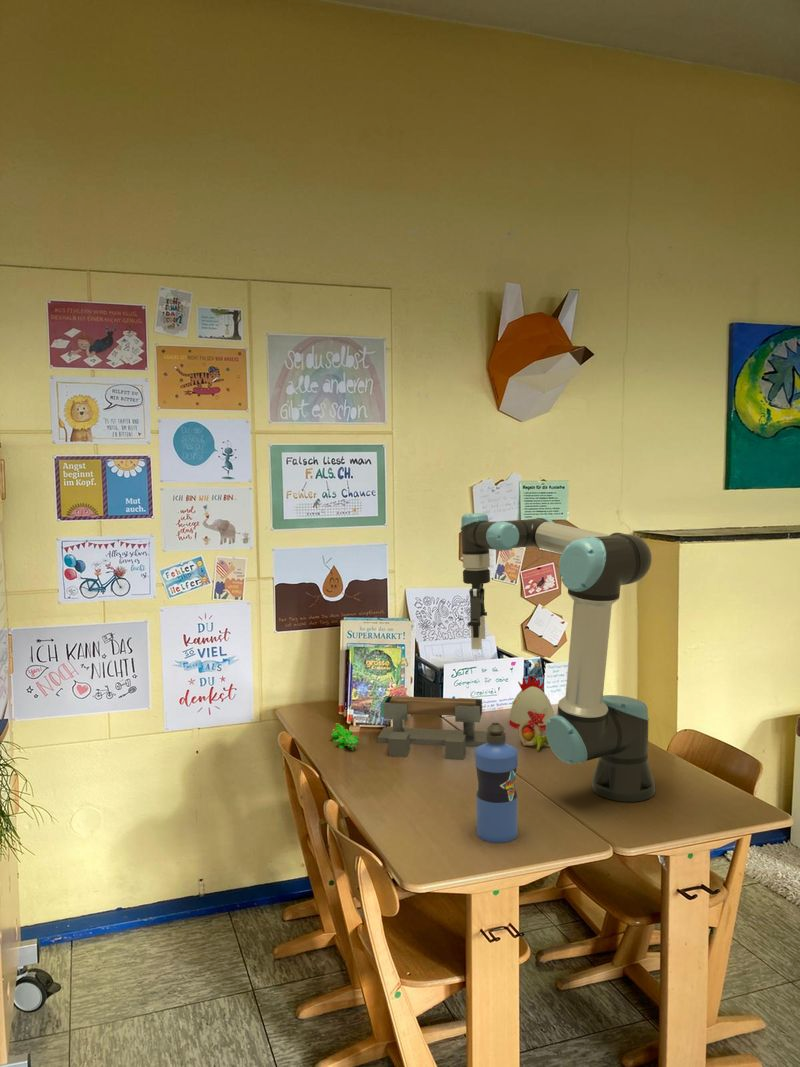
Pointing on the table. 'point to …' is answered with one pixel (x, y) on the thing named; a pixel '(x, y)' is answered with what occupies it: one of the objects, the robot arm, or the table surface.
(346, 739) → the crocodile figurine
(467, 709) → the rail stand
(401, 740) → the rail rest
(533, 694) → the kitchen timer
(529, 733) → the bird rattle
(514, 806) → the water bottle
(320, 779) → the table surface
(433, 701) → the walnut rail
